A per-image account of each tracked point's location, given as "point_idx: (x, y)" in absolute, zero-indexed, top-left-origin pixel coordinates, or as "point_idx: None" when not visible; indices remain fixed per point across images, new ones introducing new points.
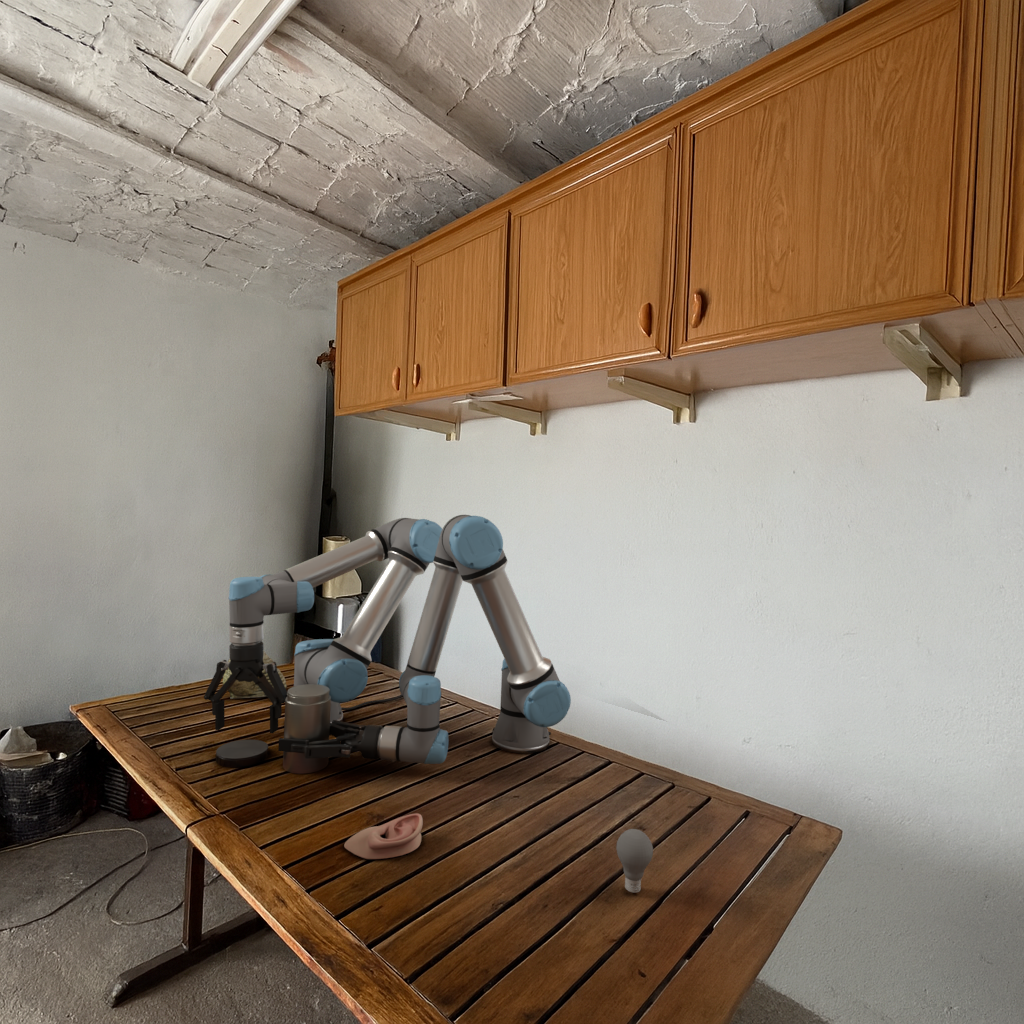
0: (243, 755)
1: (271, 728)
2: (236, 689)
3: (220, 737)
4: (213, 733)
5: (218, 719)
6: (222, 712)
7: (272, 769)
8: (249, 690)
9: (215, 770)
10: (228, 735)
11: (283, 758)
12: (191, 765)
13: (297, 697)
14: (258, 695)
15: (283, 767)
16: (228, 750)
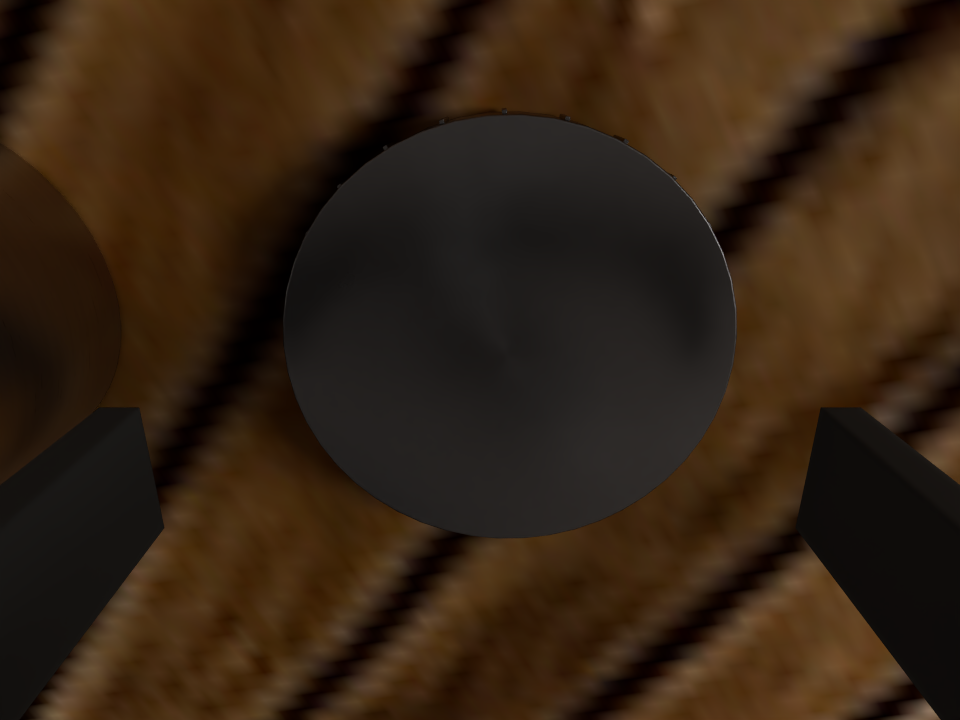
0: (415, 209)
1: (82, 436)
2: None
3: (840, 618)
4: None
5: (905, 487)
6: (921, 631)
7: (128, 148)
8: None
9: (601, 19)
10: (795, 654)
11: (1, 205)
12: (871, 84)
13: None
14: None
15: (46, 184)
16: (614, 292)
